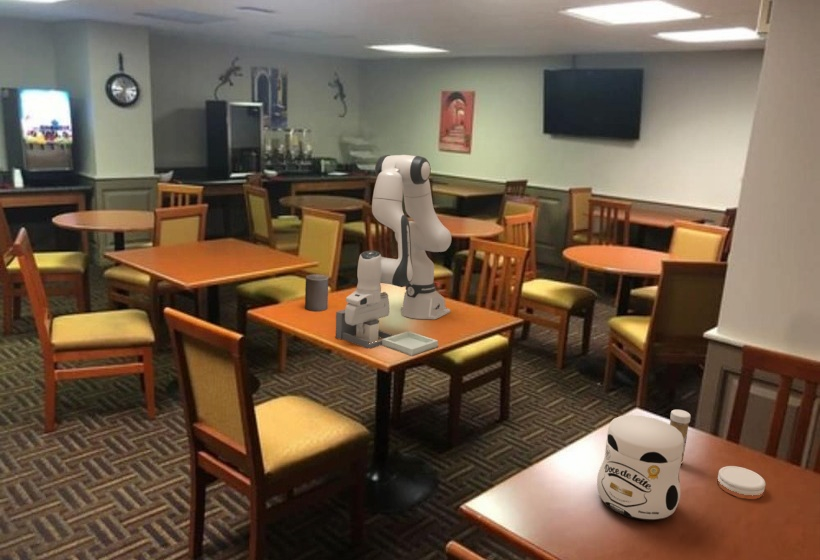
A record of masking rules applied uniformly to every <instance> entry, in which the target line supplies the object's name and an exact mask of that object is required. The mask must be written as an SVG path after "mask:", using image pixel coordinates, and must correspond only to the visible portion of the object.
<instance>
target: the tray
mask: <svg viewBox="0 0 820 560" xmlns="http://www.w3.org/2000/svg"><path fill="white" fill-rule="evenodd" d="M381 340H382V345H383V347H385V346H386V348H388V347H389V348H388V349H391V350H394V351H396V350H397V352H399V351H400V353H403V354H406V355H409V356H411V357H412V356H416V355H419V354H421V353H425V352H427V351H430V350H433V349H436V348H438V347H439V339H434V338H431V337H428V336H424V335H422V334H419V333H415V332H413V331H409V330H407V331H404V332H400V333H397V334H394V335H392V336H391V337H388V338H384V339H383V338H381ZM382 345H381V346H382Z"/></svg>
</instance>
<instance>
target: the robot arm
mask: <svg viewBox="0 0 820 560" xmlns="http://www.w3.org/2000/svg"><path fill="white" fill-rule="evenodd" d="M431 169H432V168H431V165H430V162H429V161H428V159H427V158H426V157H423V156H420V155H411V154H410V155H409V154H394V155H390V154H387V155H382V156H380V157H379V158H378V159H377V161H376V163H375V167H374V173H375V176H376V180H375V184H374V189H373V194H372V199H371V200H372V201H371V213H372V215H373V217H374V218H375V220H377V221H378V222H379V223H380V224H382V225H384V226H385V227H387V228H389V229H391V230H392V232H394V238H395V241H396V243H397V254H398V258H391V257H385V256H382V255H381V253H380V252H379V251H377V250H364V251H363V252H361V253H360V254H359V258H358V263H357V269H356V271H357V285H356V290H354V291H353V292H352V293H351V294H349V295H347V296H346V297H345V301H346V303H347V304H346V305H345V309H344V310H345V322H346V323H347V324H349V325H352V326H353V325H357V327H358V329H359V334H364V333H365V329H363V327H362V325H363V323H364V322H367V321H370V320H374V319H376V320H379V321H380V319H382V318H386V317H388V316H389V315H390V300H389V294H388V293H387V292H386V291H383V292H382V285H381V284H384V285H385V284H386V285H392V286H396V287H398V288H404V287H405V292H404V295H403V301H402V307H400V308H401V309H400V311H401V315H402V316H404V317H406V318H409V319H414V320H415V319H416V320H417V319H418V320H437V319H439V318H441V317H444V316H446V315H447V314H450V313H451V309H450V308H448V307H446V299H445V297H444V296H442V295H441V293H440V292H438V290H436V289H437V288H439V287H440V286H441V284H440V282H437V281H434V279H435V264H434V262H433V261H432V260H431V259H430V258H429V257H428V255H427V253H426V251H428V252H432V253H439V252H440V253H442V252H446V251H447V250H448V249H449V248H450V246H451V243H452V234H451V231H450V230H449V229H448V228H447V227H446V226H444V225H443V223H442V222H441V220H440V219H439V217H438V215H437V213H436V211H435V209H434V204H433V197H432V189H431V183H430V176H431ZM403 202H404V208H405V209H404V210H405V212H406V215H408V216H409V217H410V218H411V219H412V220H413V221H412V220H409V217H408V216H406V215H405V213H404V211H403Z"/></svg>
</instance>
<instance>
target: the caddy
mask: <svg viewBox="0 0 820 560" xmlns="http://www.w3.org/2000/svg"><path fill="white" fill-rule="evenodd" d="M379 325H380V319H379V320H376V319H374V320H370V321H367V322H364V323H363V325H362V327H363V329H365V333H364V334H359V329H358V327H357V326H356V335H355V336H356V337H359V338H362V339H364V340H367V341H369V343H372V342H375V341H379V337H378V331H379V330H380V329H379V328H380V326H379Z"/></svg>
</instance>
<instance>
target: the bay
mask: <svg viewBox="0 0 820 560" xmlns="http://www.w3.org/2000/svg"><path fill="white" fill-rule="evenodd" d="M356 326H357V325H353V326H352V325H349V324H347V323H346V322H345V309H341V310H337V311H336V312H335V338H336V339H339V340H344V341H346V342H349V343H351V342H352V344H354V345H357V344H358V346H360V345H361V346H360V347H362V346H363V347H362V348H366V349H368V348H370V349H373V348H377V347H380V346H382V339H384V338H388V337H391V336H393V334H392V333H389V332H386V331H383V330H380V329H379V331H378V338H380V337H381V338H380V339H381V340H378V341H377V342H373V343H370V344H369V341H367V340H364V339H362V338H359V337H356ZM354 335H355V336H354ZM379 345H380V346H379ZM376 346H377V347H376ZM372 347H373V348H372Z"/></svg>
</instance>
